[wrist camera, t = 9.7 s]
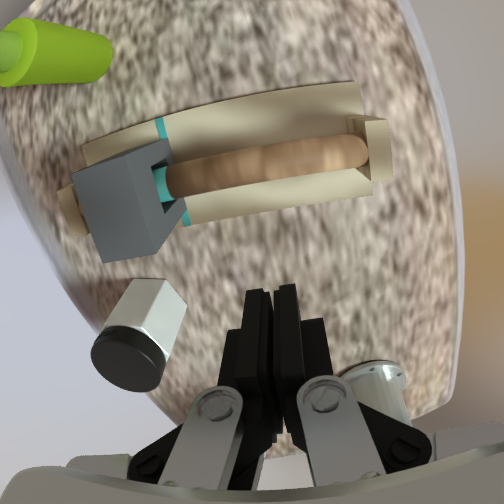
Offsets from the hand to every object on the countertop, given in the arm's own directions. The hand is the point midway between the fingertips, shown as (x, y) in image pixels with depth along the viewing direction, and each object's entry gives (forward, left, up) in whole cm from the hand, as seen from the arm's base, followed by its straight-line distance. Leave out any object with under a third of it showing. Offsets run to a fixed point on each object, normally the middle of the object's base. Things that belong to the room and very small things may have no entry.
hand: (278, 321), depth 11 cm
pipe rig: (+2, +5, -23) cm, 24 cm away
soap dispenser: (+18, +17, -23) cm, 34 cm away
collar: (+2, +12, -21) cm, 24 cm away
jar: (-14, +18, -23) cm, 33 cm away
